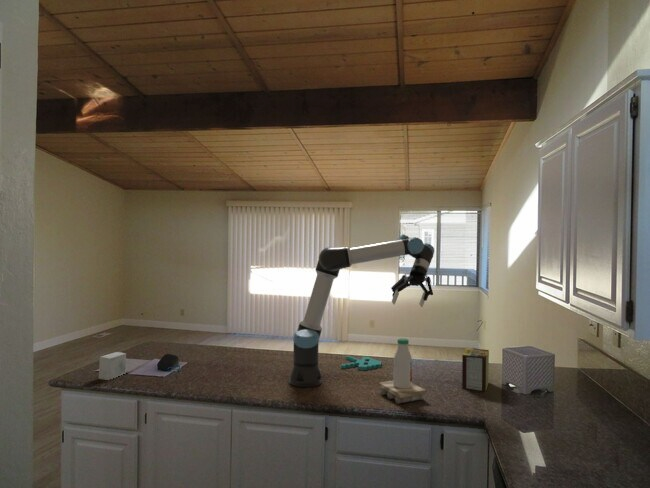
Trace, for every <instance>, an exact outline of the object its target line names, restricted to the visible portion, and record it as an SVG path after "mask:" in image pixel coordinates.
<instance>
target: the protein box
mask: <svg viewBox="0 0 650 488" xmlns="http://www.w3.org/2000/svg"><path fill="white" fill-rule="evenodd" d="M461 355H462V363H461V365H462V366H461V367H462V370H461V371H462V372H461V376H462V377H461V379H462V380H461V385H462V387H461V388H462V389H463V390H471V391H472V390H473V391H479V392H484V391H485V392H487V389H488V385H489V367H490V365H489V364H490V363H489V361H490V360H489V359H490V357H489V356H490V350H489V349H483V348H472V347H465V350H464V351H463V353H462V354H461ZM485 392H484V393H485Z"/></svg>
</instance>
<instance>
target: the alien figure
mask: <svg viewBox="0 0 650 488" xmlns="http://www.w3.org/2000/svg"><path fill="white" fill-rule="evenodd" d="M345 359H346V360H347V361H349V362H350V363H348V362H347V363H341V365H340V366H341V367H340V370H341V369H343V370H345V369H351V368H355V367H357V370H358V371H368V370H371V371H372V369H375V370H376V369H377V368H378V369H381V368H382V361H381V360H378V359H375V358H371V356H370V357H369V356H362V357H361V359H358V358H356V357H354V356H351V355H346V357H345Z"/></svg>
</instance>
